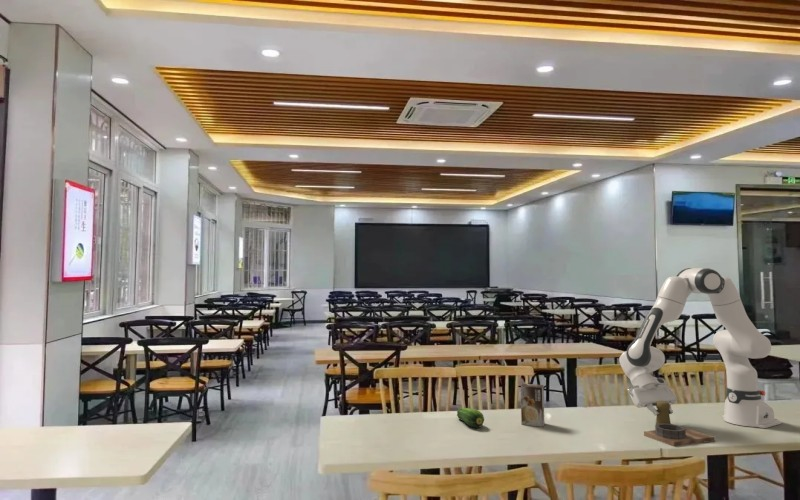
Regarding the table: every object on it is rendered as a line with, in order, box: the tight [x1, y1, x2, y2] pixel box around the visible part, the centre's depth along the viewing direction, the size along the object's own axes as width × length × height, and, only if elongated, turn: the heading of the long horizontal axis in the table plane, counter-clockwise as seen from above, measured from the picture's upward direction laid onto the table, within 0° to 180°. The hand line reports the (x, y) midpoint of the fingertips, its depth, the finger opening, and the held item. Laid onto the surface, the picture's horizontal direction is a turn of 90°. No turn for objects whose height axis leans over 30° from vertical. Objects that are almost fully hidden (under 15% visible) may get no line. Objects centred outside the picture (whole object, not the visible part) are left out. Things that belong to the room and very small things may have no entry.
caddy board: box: [643, 423, 715, 447], centre depth 200 cm, size 20×14×4 cm
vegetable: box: [456, 407, 485, 429], centre depth 220 cm, size 7×7×20 cm
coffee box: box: [520, 383, 545, 427], centre depth 220 cm, size 9×6×16 cm
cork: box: [655, 401, 672, 425], centre depth 213 cm, size 6×6×11 cm
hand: (664, 414), depth 213 cm, fingers open, 6 cm apart
